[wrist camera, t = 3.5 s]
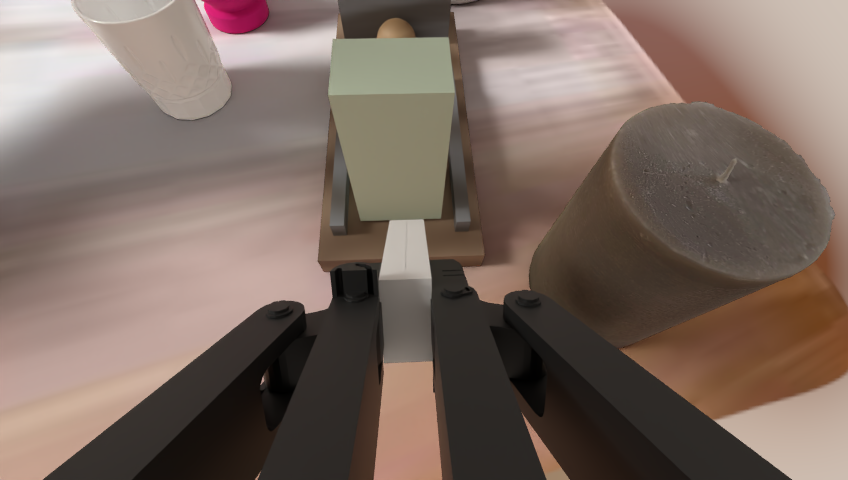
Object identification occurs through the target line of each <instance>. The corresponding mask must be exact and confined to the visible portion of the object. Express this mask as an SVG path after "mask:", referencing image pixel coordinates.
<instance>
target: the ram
mask: <svg viewBox="0 0 848 480" xmlns="http://www.w3.org/2000/svg"><path fill="white" fill-rule="evenodd" d="M454 96H455V89H454V81H453V72H452V63H451V54H450V45H449V37H433V38H368V39H333V43H332V54H331V66H330V77H329V88H328V98H329V101H330V105H331V109H332V113H333V117H334V121H335V125H336V128H337V132H338V136H339V140H340V144H341V148H342V151H343V155H344V159H345V163H346V167H347V171H348V175H349V178H350V182H351V186H352V190H353V194H354V198H355V201H356V205H357V209H358V213H359V217H360V221H380V220H412V219H441V213H442V204H443V195H444V186H445V177H446V168H447V159H448V150H449V141H450V132H451V123H452V114H453V105H454Z"/></svg>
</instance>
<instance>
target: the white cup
mask: <svg viewBox="0 0 848 480" xmlns="http://www.w3.org/2000/svg"><path fill="white" fill-rule="evenodd" d="M71 4H72V7H73V9H74V11H75V12H76V14H77V15H78V16H79V17H80V18H81V19H82V20H83V22H84V23H85V24H86V25H87V26H88V27H89V28H90V30H91V31H92V32H93V33H94V34H95V35H96V37H97V38H98V39H99V40H100V41H101V42H102V44H103V45H104V46H105V47H106V48H107V49H108V51H109V52H110V53H111V54H112V55H113V56H114V58H115V59H116V60H117V61H118V62H119V63H120V64H121V66H122V67H123V68H124V69H125V70H126V71H127V72H128V73H129V74H130V75H131V76H132V78H133V79H134V80H135V81H136V82H137V83H138V84H139V86H141V87H142V88H143V89H144V90H145V91H146V92H147V93H148V94H149V95H150V96H151V98H152V99H153V100H154V101H155V102H156V104H157V105H158V106H159V107H160V108H161V109H162V111H163V112H164V113H166V114H168V115H170V116H172V117H174V118H176V119H185V120H195V119H199V118H202V117H206V116H209V115H211V114H213V113H214V112H216V111H217V110H219V109H221V108H222V107H223V106H224V105H225V103H226V102H227V101H228V99H229V98H230V96H231V87H232V84H231V82H230V80H229V77H228V75H227V73H226V71H225V69H224V67H223V65H222V63H221V60H220V56H219V53H218V51H217V48H216V46H215V44H214V42H213V39H212V36H211V34H210V32H209V30H208V28H207V26H206V23H205V21H204V19H203V17H202V15H201V13H200V10H199V8H198V6H197V4H196V2H195V0H71Z"/></svg>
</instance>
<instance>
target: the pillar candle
mask: <svg viewBox="0 0 848 480" xmlns="http://www.w3.org/2000/svg"><path fill="white" fill-rule="evenodd" d="M829 203H830V197H829V195H828V193H827V190H826V188H825V187H824V186H823V185H822V184H821V183H820V179H818V178H816V177H815V175H814V174H813V173H812V172H811V171H810V169H809V168H808V166H807V164H806V163H805V161H804V159H803V158H802V156H801V155H798V154H796V153H795V152H794V151H793V150H792V148H791V147H790V146H789V145H788V144H787V143H786V142H785V141H784V140H782V139H780V138H779V137H777V136H776V135H774V134H773V133H771V132H769V131H768V130H765V129H763V128H762V126H760V125H758V124H757V123H755V122H753V121H751V120H749V119H747V118H744V117H742V116H740V115H738V114H735V113H732V112H728V111H726V110H723V109H722V108H717V107H715V106H714V105H713V104H709V103H707V102H692V103H691V104H685V103H679V104H676V103H671V104H664V105H660V106H656V107H651V108H648V109H646V110H644V111H642V112H640V113H638V114H636V115H635V116H633V117H632V118H630V119H629V120H628V121H627V122H625V124H624V125H623V126H622V127H621V129H620V130H619V131H618V133H617V134H616V136H615V137H614V138H613V140H612V141H611V143H610V144H609V146H608V147H607V149H606V150H605V151H604V153H603V154H602V156H601V157H600V158H599V160H598V161H597V163H596V164H595V165H594V167H593V168H592V170H591V171H590V173H589V174H588V176H587V177H586V178H585V180H584V181H583V183H582V184H581V186H580V187H579V188H578V189H577V191H576V193H575V194H574V196H573V197H572V199H571V200H570V201H569V203H568V204H567V206H566V207H565V209H564V211H563V212H562V213H561V215H560V216H559V218H558V219H557V220H556V222H555V223H554V224H553V226H552V227H551V229H550V230H549V232H548V233H547V234H546V236H545V238H544V239H543V240H542V242H541V243H540V244H539V246H538V248H537V249H536V251H535V253H534V255H533V258H532V262H531V265H530V270H529V271H530V273H529V284H530V289H531V290H532V291H535V292H538V293H541V294H544V295H546V296H548V297H549V298H551V299H552V300H553V301H555V302H556V303H557V304H559V305H560V306H561V307H563V308H564V309H565V310H567V311H568V312H569V313H571V314H572V315H573V316H575V317H576V318H577V319H579V320H580V321H581V322H583V323H584V324H585V325H587V326H588V327H589V328H591V329H592V330H593V331H595V332H596V333H597V334H599V335H600V336H601V337H603V338H604V339H605V340H607V341H608V342H609V343H611V344H612V345H613V346H615V347H616V348H622V347H625V346H628V345H631V344H633V343H636V342H638V341H640V340H643V339H645V338H647V337H650V336H652V335H654V334H657V333H659V332H661V331H663V330H666V329H668V328H671V327H673V326H675V325H678V324H680V323H682V322H685V321H687V320H690V319H692V318H694V317H697V316H699V315H701V314H704V313H706V312H708V311H711V310H713V309H715V308H718V307H720V306H723V305H725V304H727V303H729V302H732V301H734V300H737V299H739V298H741V297H744V296H746V295H748V294H750V293H753V292H755V291H758V290H760V289H762V288H764V287H767V286H769V285H771V284H774V283H776V282H778V281H781V280H784V279H786V278H789V277H791V276H793V275H795V274H797V273H798V272H800V271H802V270H803V269H805V268H807V267H808V266H810V265H811V264H812V263H813V262H815V261H816V260H817V259H818V257H819V256H820V255H821V253H822V252H823V251H824V249H825V248H826V245H827V244H828V241H829V239H830V232H831V225H832V220H833V219H834V216H835V213H834V211H833V208H832V207H831V206H830V204H829Z"/></svg>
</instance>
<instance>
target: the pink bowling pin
mask: <svg viewBox="0 0 848 480" xmlns="http://www.w3.org/2000/svg"><path fill="white" fill-rule="evenodd" d="M202 1H204V8H205V10H206V12H207V15H208V17H209V19H210V21H211V23H212V24H213V26H214V27H215V28H217V29H218V30H220V31H223V32H226V33H236V34H237V33H245V32H249V31H251V30H254V29H256V28H258V27H259V26H261V25H262V24H263V23H264V22H265V21H266V19H267V17H268V14H269V9H268V6H267V3H266V0H202Z"/></svg>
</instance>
